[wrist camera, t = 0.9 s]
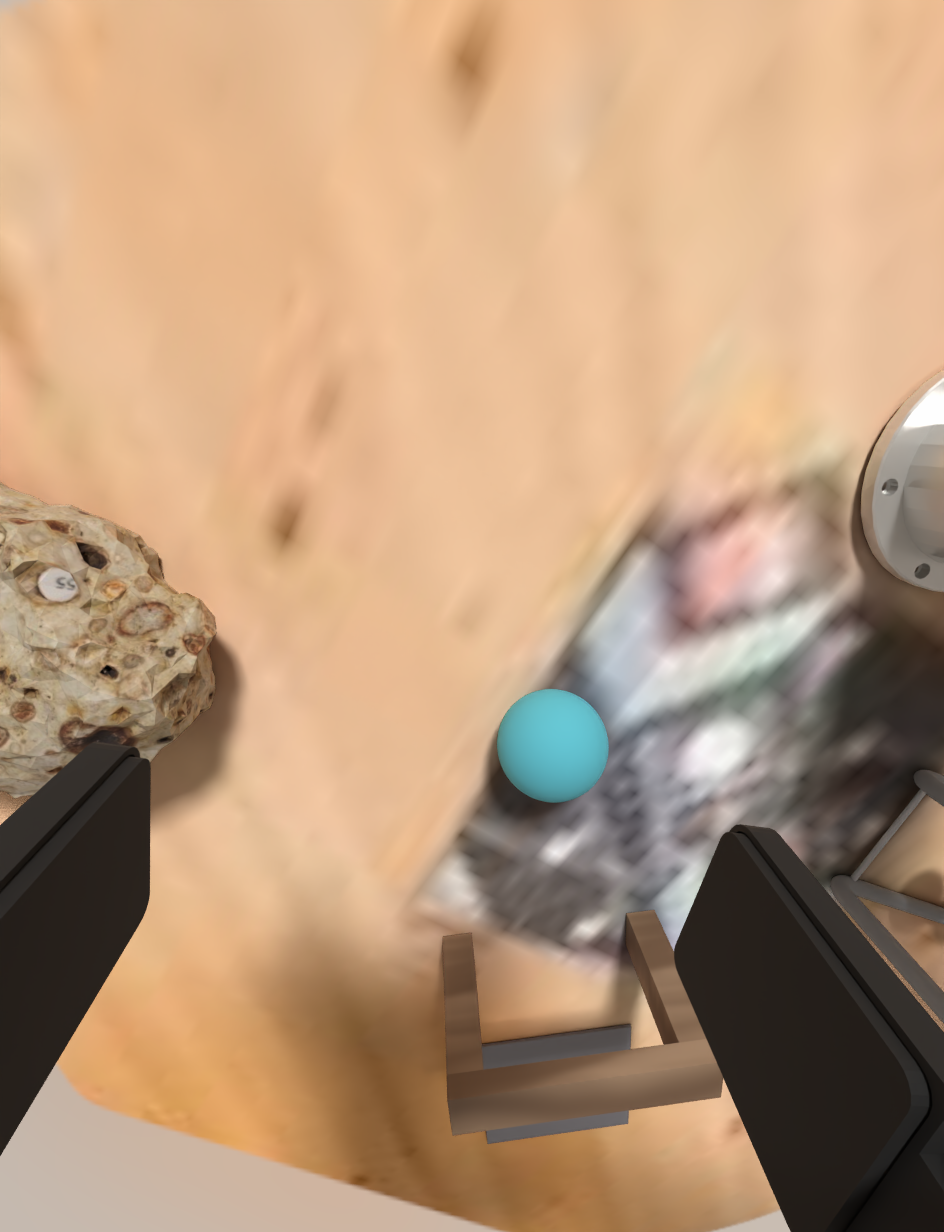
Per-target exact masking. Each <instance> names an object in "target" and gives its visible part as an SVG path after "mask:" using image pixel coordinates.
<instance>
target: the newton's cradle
mask: <svg viewBox="0 0 944 1232" xmlns="http://www.w3.org/2000/svg"><path fill="white" fill-rule="evenodd" d="M914 781H915V783H916V785H917V786H918V787H919V788H920V790H919V791H918V792H917V794H916V795H915V796H914V797H913V799H912V800H911V801H910V802H909V804H908V805H907V806H906V807H905V809H904V810H903V811H902V812H901V814H900V815H899V816H898V818H897V819H896V820H895V821H894V823H893V824H892V825H891V826H890V828H889V829H888V830H887V831H886V833H885V834H884V835H883V836H882V838H881V839H880V840H879V841H878V843H877V844H876V845H875V846H874V848H873V849H872V850H871V851H870V853H869V854H868V855H867V856H866V858H865V859H864V860H863V862H862V863H861V864H860V865H859V867H858V868H857V869H856V870H855V872H854V873H853V874H852V875H851V877H850V876H845V875H838V876H835V877H833V878H832V880H831V890H832V892H833V894H834V896H835V897H836V899H837V900H838V901H839V903H840V904H841V905H842V906H843V907H844V909H845V910H846V911H847V912H848V913H849V914H850V916H851V917H852V918H853V919H854V920H855V921H856V923H857V924H858V925H859V926H860V927H861V928H862V929H863V931H864V932H865V933H866V934H867V935H868V936H869V938H870V939H871V940H872V941H873V942H874V943H875V945H876V946H877V947H878V948H879V949H880V950H881V951H882V953H883V954H884V955H885V956H886V957H887V958H888V960H889V961H890V962H891V963H892V964H893V965H894V967H895V968H896V969H897V970H898V971H899V972H900V973H901V975H902V976H903V977H904V978H905V979H906V980H907V982H908V983H909V984H910V985H911V986H912V987H913V989H914V990H915V991H916V992H917V993H918V994H919V996H920V997H921V998H922V999H923V1000H924V1001H925V1002H926V1004H927V1005H928V1006H929V1007H930V1008H931V1009H932V1011H933V1012H934V1013H935V1014H936V1015H937V1016H938V1018H939V1019H940V1020H941V1021H942V1022H943V1023H944V992H943V991H942V990H941V989H940V987H939V986H938V985H937V984H936V983H935V982H934V981H933V980H932V979H931V978H930V977H929V975H928V974H927V973H926V972H925V971H924V970H923V969H922V968H921V967H920V966H919V964H918V963H917V962H916V961H915V960H914V959H913V958H912V957H911V956H910V955H909V953H908V952H907V951H906V950H905V949H904V948H903V947H902V946H901V945H900V944H899V942H898V941H897V940H896V939H895V938H894V937H893V936H892V935H891V934H890V933H889V932H888V930H887V929H886V928H885V927H884V926H883V925H882V924H881V923H880V922H879V921H878V919H877V918H876V917H875V916H874V915H873V914H872V913H871V912H870V911H869V910H868V908H867V907H866V906H865V905H864V904H863V903H862V902H861V901H860V900H859V899H858V897H862V898H865V899H868V900H871V901H874V902H877V903H880V904H883V905H886V906H889V907H892V908H895V909H898V910H901V911H905V912H908V913H911V914H914V915H917V916H920V917H923V918H926V919H929V920H932V921H935V922H938V923H941V924H944V908H943V907H940V906H937V905H934V904H931V903H928V902H925V901H922V900H919V899H916V898H913V897H910V896H907V895H904V894H901V893H898V892H895V891H892V890H889V889H886V888H883V887H880V886H877V885H874V884H871V883H868V882H865V881H862V880H859V879H858V878H859V877H860V876H861V875H862V873H863V872H864V871H865V870H866V868H867V867H868V866H869V865H870V863H871V862H872V861H873V860H874V858H875V857H876V856H877V855H878V853H879V852H880V851H881V850H882V848H883V847H884V846H885V845H886V843H887V842H888V841H889V840H890V838H891V837H892V836H893V835H894V833H895V832H896V831H897V830H898V828H899V827H900V826H901V825H902V823H903V822H904V821H905V820H906V818H907V817H908V816H909V815H910V813H911V812H912V811H913V810H914V808H915V807H916V806H917V805H918V803H919V802H920V801H921V800H922V798H923V797H924V796H925V795H926V794H927V795H929V796H930V797H931V798H933V799H934V800H935V801H937V802H938V803H939V804H941V805H942V806H943V807H944V776H943V775H941V774H938V773H936V772H933V771H930V770H919V771H917V772H915V774H914ZM857 896H858V897H857Z"/></svg>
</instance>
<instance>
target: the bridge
mask: <svg viewBox="0 0 944 1232" xmlns="http://www.w3.org/2000/svg"><path fill="white" fill-rule="evenodd" d="M626 947H627V949H628V952H629V954H630V957H631V960H632V962H633V965H634V968H635V970H636V973H637V975H638V978H639V981H640V983H641V986H642V989H643V991H644V994H645V996H646V999H647V1002H648V1004H649V1007H650V1010H651V1012H652V1015H653V1018H654V1020H655V1023H656V1025H657V1028H658V1031H659V1033H660V1036H661V1039H662V1041H663V1044H664V1045H658V1046H651V1047H644V1048H637V1049H629V1050H622V1051H615V1052H608V1053H600V1054H593V1055H586V1056H579V1057H571V1058H564V1059H557V1060H550V1061H542V1062H535V1063H528V1064H521V1065H513V1066H506V1067H499V1068H492V1069H484V1066H483V1054H482V1043H481V1031H480V1019H479V1008H478V996H477V984H476V973H475V962H474V952H473V943H472V933H467V934H459V935H451V936H443V960H444V996H445V1032H446V1068H447V1101H448V1108H449V1115H450V1121H451V1128H452V1135H453V1136H454V1135H461V1134H468V1133H475V1132H482V1131H488V1130H495V1129H502V1128H509V1127H516V1126H523V1125H530V1124H537V1123H544V1122H551V1121H558V1120H565V1119H572V1118H579V1117H586V1116H593V1115H600V1114H607V1113H614V1112H621V1111H628V1110H635V1109H642V1108H649V1107H656V1106H663V1105H670V1104H677V1103H684V1102H691V1101H698V1100H705V1099H712V1098H719V1097H721V1092H722V1083H723V1076H722V1073H721V1071H720V1069H719V1067H718V1064H717V1062H716V1060H715V1057H714V1055H713V1053H712V1051H711V1048H710V1046H709V1044H708V1041H707V1039H706V1037H705V1034H704V1032H703V1030H702V1028H701V1025H700V1023H699V1021H698V1018H697V1016H696V1014H695V1012H694V1009H693V1007H692V1005H691V1002H690V1000H689V998H688V995H687V993H686V991H685V989H684V986H683V984H682V982H681V979H680V977H679V975H678V973H677V970H676V966H675V961H674V951H673V949H672V947H671V945H670V943H669V940H668V938H667V936H666V934H665V932H664V930H663V928H662V925H661V923H660V921H659V919H658V917H657V915H656V913H655V910H649V911H641V912H633V913H626Z"/></svg>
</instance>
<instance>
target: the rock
mask: <svg viewBox="0 0 944 1232" xmlns="http://www.w3.org/2000/svg"><path fill="white" fill-rule="evenodd" d="M216 633H217V632H216V623H215V617H214V616H213V614H212V613H211V612H210V611H209V609H208V608H207V607H206V606H205V604H204V603H203V602H202V601H201V600H200V599H198V598H196V597H194V596H192V595H190V594H188V593H183V594H179V593H177V592H176V591H175V590H174V589H173V588H172V587H170V586H169V585H168V584H167V583H166V581H165V580H164V579H163V575H162V572H161V569H160V566H159V565H158V553H157V552H156V551H155V550H153V549H152V548H150V547H148V546H147V545H146V544H145V542H144V541H143V539H142V538H141V536H140V535H138V534H136V533H134V532H132V531H130V530H128V529H125V528H123V527H121V526H119V525H117V524H115V523H113V522H111V521H109V520H106V519H104V518H102V517H99V516H96V515H93V514H91V513H88V512H85V511H83V510H81V509H79V508H76V507H74V506H72V505H48V504H46V503H45V502H43V501H41V500H39V499H38V498H36V497H34V496H31V495H27V494H24V493H21V492H19V491H16V490H14V489H11V488H9V487H7V486H6V485H4V484H3V483H2V482H0V791H4V792H7V793H8V794H9V795H11V796H12V797H13V798H18V797H20V796H30V795H34V794H35V793H36V792H37V791H38V790H39V789H40V788H42V787H43V786H44V785H45V784H46V783H47V782H48V781H49V780H50V779H51V778H53V777H54V776H55V775H56V774H57V773H58V772H59V771H60V770H61V769H62V768H64V767H65V766H66V765H67V764H68V763H69V762H70V761H71V760H72V759H73V758H74V757H76V756H77V755H78V754H79V753H80V752H81V751H82V750H83V749H84V748H85V747H87V746H88V745H90V744H91V743H94V742H101V743H108V744H116V745H124V746H132V747H136V748H137V749H138V750H139V753H140V758H146V759H148V760H149V762H150V763H151V761H152V760H153V759H154V758H155V756H156V755H157V754H158V753H159V752H160V750H161V749H162V748H163V747H165V746H166V745H168V744H169V743H171V742H173V741H174V740H175V739H176V738H177V737H178V736H180V734H181V733H182V732H183V731H184V730H185V729H186V728H187V727H188V726H189V725H191V724H192V722H193V721H194V720H195V719H196V718H197V716H198V715H199V714H201V713H203V712H205V711H206V710H208V709H210V707H211V704H212V703H213V699H214V694H215V676H214V674H213V671H212V661H211V658H210V643H211V641H212V638H213V637H214V635H215V634H216Z"/></svg>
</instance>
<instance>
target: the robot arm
mask: <svg viewBox="0 0 944 1232" xmlns="http://www.w3.org/2000/svg"><path fill="white" fill-rule="evenodd" d="M861 518H862V524H863V530H864V535H865V537H866V540H867V542H868V544H869V547H870V549H871V552H872V553H873V554H874V556H875V557H876V558H877V560H878V561H879V563H880V564H881V565H882V566H883V567H884V568H885V569H886V570H887V571H889V572H890V573H891V574H892V575H894V576H895V577H896V578H898V579H901V580H903V581H905V582H907V583H909V584H911V585H914V586H918V587H921V588H925V589H928V590H931V591H937V592H944V369H943V370H941V371H940V372H938V373H937V374H936V375H934V376H933V377H931V378H930V379H929V380H927V381H926V382H924V383H923V384H922V385H921V386H920V387H919V388H918V389H917V390H916V391H915V392H914V393H913V394H912V395H911V396H910V397H909V398H908V399H907V400H906V401H905V402H904V403H903V404H902V406H901V407H900V408H899V409H898V411H897V412H896V413H895V415H894V416H893V417H892V419H891V420H890V421H889V422H888V424H887V426H886V427H885V429H884V431H883V433H882V435H881V436H880V438H879V440H878V442H877V443H876V445H875V447H874V450H873V453H872V455H871V458H870V461H869V463H868V466H867V469H866V473H865V477H864V482H863V487H862V492H861ZM150 769H151V768H150V762H149V760H148V759H146V758H140V753H139V750H138V749H137V748H136V747H132V746H124V745H116V744H108V743H101V742H94V743H91V744H90V745H88V746H87V747H85V748H84V749H83V750H82V751H81V752H80V753H79V754H78V755H77V756H76V757H74V758H73V759H72V760H71V761H70V762H69V763H68V764H67V765H66V766H65V767H64V768H62V769H61V770H60V771H59V772H58V773H57V774H56V775H55V776H54V777H53V778H51V779H50V780H49V781H48V782H47V783H46V784H45V785H44V786H43V787H42V788H40V789H39V790H38V791H37V792H36V793H35V794H34V795H33V796H32V797H31V798H30V799H28V800H27V801H26V802H25V803H24V804H23V805H22V806H21V807H20V808H19V809H17V810H16V811H15V812H14V813H13V814H12V815H11V816H10V817H9V818H8V819H7V820H5V821H4V822H3V823H2V824H1V825H0V1156H1V1154H2V1152H3V1150H4V1149H5V1147H6V1145H7V1144H8V1142H9V1141H10V1139H11V1137H12V1136H13V1134H14V1132H15V1131H16V1129H17V1127H18V1125H19V1124H20V1122H21V1121H22V1119H23V1117H24V1116H25V1114H26V1112H27V1111H28V1109H29V1107H30V1105H31V1104H32V1102H33V1100H34V1099H35V1097H36V1095H37V1094H38V1092H39V1091H40V1089H41V1087H42V1086H43V1084H44V1082H45V1081H46V1079H47V1077H48V1075H49V1074H50V1072H51V1071H52V1069H53V1067H54V1066H55V1064H56V1062H57V1061H58V1059H59V1057H60V1056H61V1054H62V1052H63V1051H64V1049H65V1047H66V1046H67V1044H68V1042H69V1041H70V1039H71V1037H72V1036H73V1034H74V1032H75V1031H76V1029H77V1027H78V1026H79V1024H80V1022H81V1021H82V1019H83V1017H84V1016H85V1014H86V1012H87V1011H88V1009H89V1007H90V1006H91V1004H92V1002H93V1001H94V999H95V997H96V996H97V994H98V992H99V991H100V989H101V987H102V986H103V984H104V982H105V981H106V979H107V977H108V976H109V974H110V972H111V971H112V969H113V967H114V966H115V964H116V962H117V961H118V959H119V957H120V956H121V954H122V952H123V951H124V949H125V947H126V946H127V944H128V942H129V941H130V939H131V937H132V936H133V934H134V932H135V931H136V929H137V927H138V926H139V924H140V922H141V920H142V918H143V916H144V914H145V911H146V908H147V905H148V901H149V895H150ZM674 961H675V966H676V970H677V973H678V975H679V977H680V979H681V982H682V984H683V986H684V989H685V991H686V993H687V995H688V998H689V1000H690V1002H691V1005H692V1007H693V1009H694V1012H695V1014H696V1016H697V1018H698V1021H699V1023H700V1025H701V1028H702V1030H703V1032H704V1034H705V1037H706V1039H707V1041H708V1044H709V1046H710V1048H711V1051H712V1053H713V1055H714V1057H715V1060H716V1062H717V1064H718V1067H719V1069H720V1071H721V1073H722V1076H723V1078H724V1080H725V1083H726V1085H727V1087H728V1090H729V1092H730V1094H731V1096H732V1099H733V1101H734V1103H735V1106H736V1108H737V1110H738V1112H739V1115H740V1117H741V1119H742V1122H743V1124H744V1126H745V1129H746V1131H747V1133H748V1135H749V1138H750V1140H751V1142H752V1145H753V1147H754V1149H755V1151H756V1154H757V1156H758V1158H759V1161H760V1163H761V1165H762V1168H763V1170H764V1172H765V1174H766V1177H767V1179H768V1181H769V1184H770V1186H771V1188H772V1190H773V1193H774V1195H775V1197H776V1200H777V1202H778V1204H779V1206H780V1209H781V1211H782V1213H783V1215H784V1218H785V1220H786V1223H787V1225H788V1227H789V1229H790V1231H791V1232H944V1032H943V1031H942V1030H941V1029H940V1027H939V1026H938V1025H937V1024H936V1023H935V1021H934V1020H933V1019H932V1018H931V1017H930V1015H929V1014H928V1013H927V1012H926V1011H925V1009H924V1008H923V1007H922V1006H921V1005H920V1003H919V1002H918V1001H917V1000H916V999H915V997H914V996H913V995H912V994H911V993H910V991H909V990H908V989H907V988H906V987H905V985H904V984H903V983H902V982H901V981H900V979H899V978H898V977H897V976H896V974H895V973H894V972H893V971H892V970H891V968H890V967H889V966H888V965H887V964H886V962H885V961H884V960H883V959H882V958H881V956H880V955H879V954H878V953H877V952H876V950H875V949H874V948H873V947H872V946H871V944H870V943H869V942H868V941H867V940H866V938H865V937H864V936H863V935H862V934H861V932H860V931H859V930H858V929H857V928H856V926H855V925H854V924H853V923H852V922H851V920H850V919H849V918H848V917H847V916H846V914H845V913H844V912H843V911H842V910H841V908H840V907H839V906H838V905H837V904H836V902H835V901H834V900H833V899H832V898H831V896H830V895H829V894H828V893H827V892H826V890H825V889H824V888H823V887H822V885H821V884H820V883H819V882H818V881H817V879H816V878H815V877H814V876H813V875H812V873H811V872H810V871H809V870H808V869H807V867H806V866H805V865H804V864H803V863H802V861H801V860H800V859H799V858H798V857H797V855H796V854H795V853H794V852H793V851H792V849H791V848H790V847H789V846H788V845H787V843H786V842H785V841H784V840H783V839H782V837H781V836H780V835H779V834H778V833H777V832H776V831H775V830H772V829H770V828H763V827H756V826H748V825H735V826H734V827H733V828H732V829H731V830H730V832H726V833H725V834H723V836H722V837H721V839H720V841H719V844H718V846H717V848H716V851H715V853H714V856H713V858H712V860H711V863H710V865H709V867H708V870H707V872H706V874H705V877H704V879H703V881H702V884H701V886H700V889H699V891H698V893H697V896H696V898H695V900H694V903H693V905H692V907H691V910H690V912H689V914H688V917H687V919H686V922H685V924H684V926H683V929H682V931H681V933H680V936H679V938H678V940H677V943H676V945H675V949H674Z"/></svg>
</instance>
